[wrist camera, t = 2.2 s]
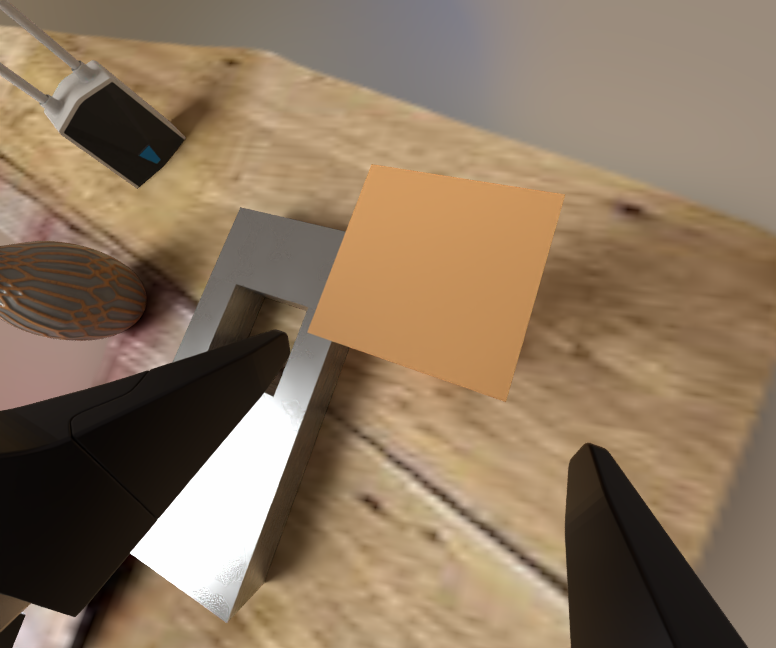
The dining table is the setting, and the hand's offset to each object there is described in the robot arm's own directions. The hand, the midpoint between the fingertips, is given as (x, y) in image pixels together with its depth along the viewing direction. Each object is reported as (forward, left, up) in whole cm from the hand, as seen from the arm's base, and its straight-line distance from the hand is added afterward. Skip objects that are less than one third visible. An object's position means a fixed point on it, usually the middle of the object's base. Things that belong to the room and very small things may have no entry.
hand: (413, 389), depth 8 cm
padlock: (+20, +27, -10) cm, 35 cm away
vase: (+5, +26, -10) cm, 28 cm away
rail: (0, +12, -10) cm, 15 cm away
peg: (+2, -1, -10) cm, 10 cm away
